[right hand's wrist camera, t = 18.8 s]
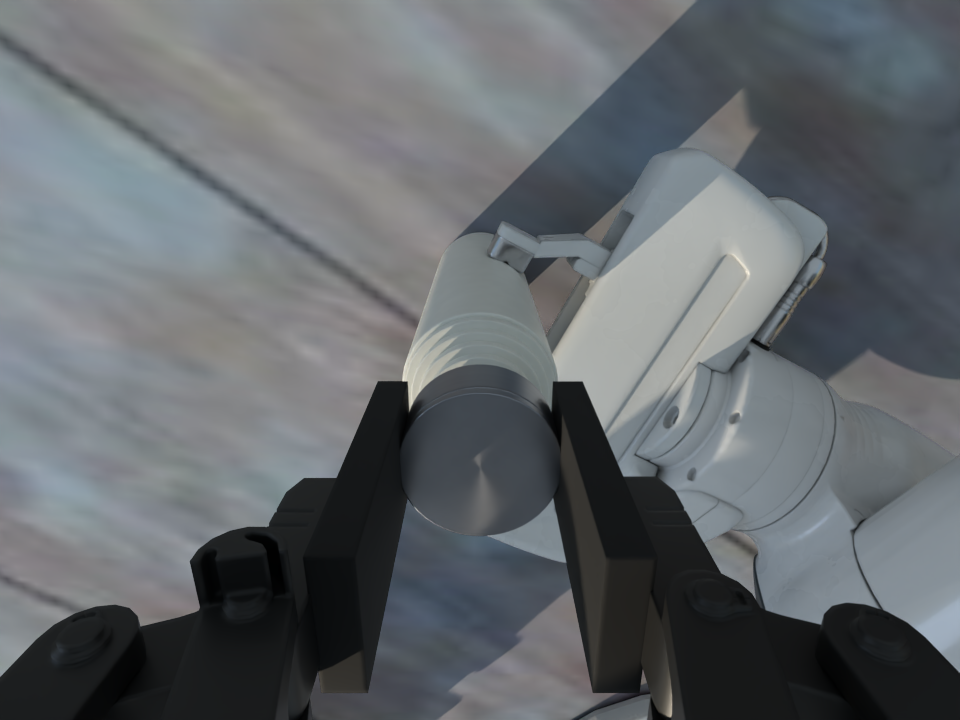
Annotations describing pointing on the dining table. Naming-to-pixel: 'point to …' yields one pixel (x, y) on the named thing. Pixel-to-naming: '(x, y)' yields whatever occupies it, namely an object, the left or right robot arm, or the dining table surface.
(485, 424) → the cap
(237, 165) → the dining table surface
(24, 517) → the dining table surface
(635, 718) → the wall clock
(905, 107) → the dining table surface
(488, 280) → the bottle
